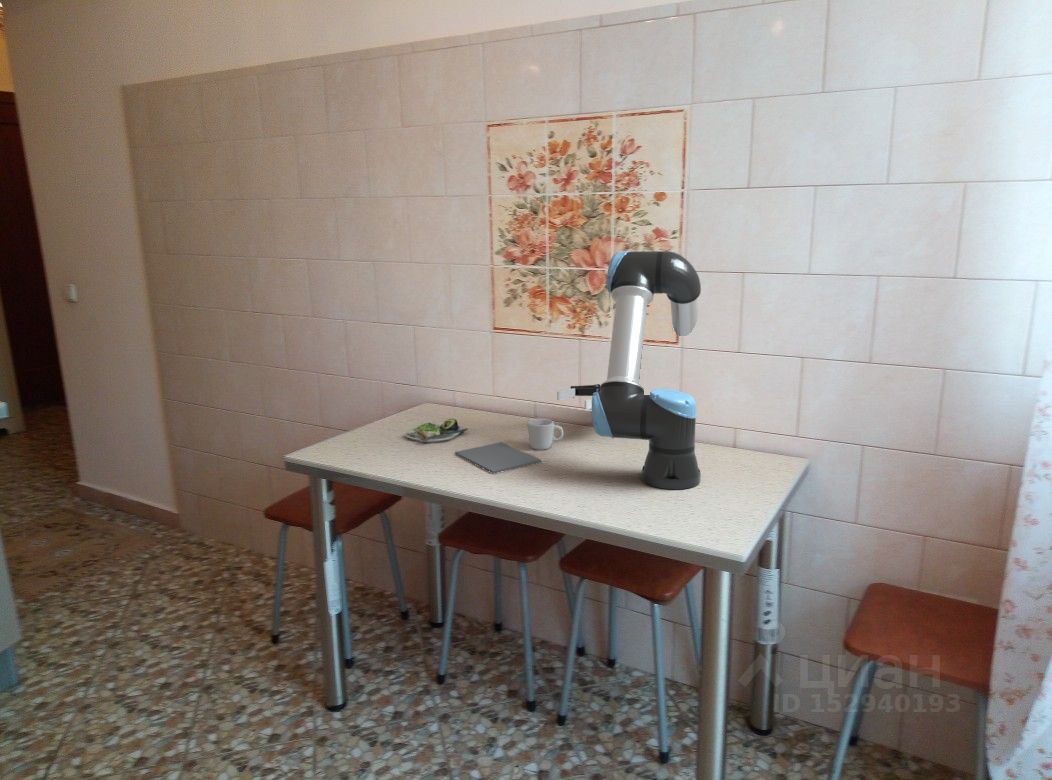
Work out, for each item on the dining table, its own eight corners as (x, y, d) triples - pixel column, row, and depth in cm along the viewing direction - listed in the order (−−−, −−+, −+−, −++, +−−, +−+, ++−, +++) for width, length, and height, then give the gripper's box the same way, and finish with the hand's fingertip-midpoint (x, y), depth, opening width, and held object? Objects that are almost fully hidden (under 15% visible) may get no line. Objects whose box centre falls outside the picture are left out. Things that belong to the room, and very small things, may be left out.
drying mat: (541, 462, 206) (541, 459, 206) (493, 474, 197) (493, 471, 197) (501, 444, 223) (501, 442, 223) (455, 454, 214) (455, 451, 214)
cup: (564, 443, 223) (563, 418, 221) (562, 452, 215) (562, 425, 213) (528, 443, 224) (528, 418, 222) (526, 451, 216) (525, 425, 214)
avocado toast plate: (444, 449, 221) (443, 434, 219) (393, 443, 227) (392, 429, 226) (472, 432, 238) (472, 418, 237) (424, 427, 245) (424, 413, 244)
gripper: (651, 409, 225) (597, 421, 213) (598, 393, 245) (547, 403, 233) (651, 385, 223) (597, 396, 211) (598, 371, 243) (547, 380, 231)
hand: (571, 400), depth 222 cm, fingers open, 13 cm apart
